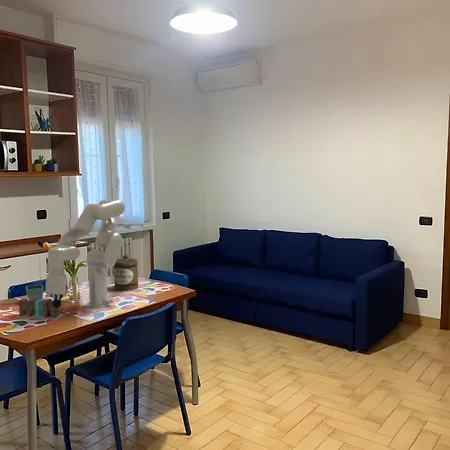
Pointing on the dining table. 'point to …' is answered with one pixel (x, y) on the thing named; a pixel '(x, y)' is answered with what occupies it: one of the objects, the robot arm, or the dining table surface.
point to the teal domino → (39, 307)
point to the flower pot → (34, 292)
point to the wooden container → (125, 274)
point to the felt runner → (41, 317)
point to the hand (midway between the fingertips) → (57, 306)
